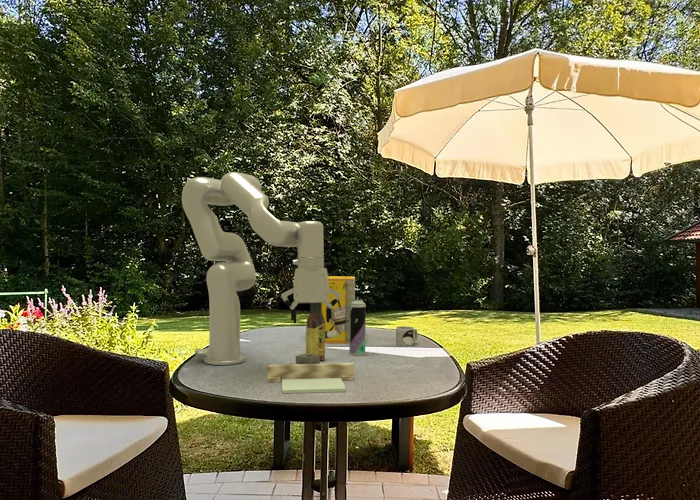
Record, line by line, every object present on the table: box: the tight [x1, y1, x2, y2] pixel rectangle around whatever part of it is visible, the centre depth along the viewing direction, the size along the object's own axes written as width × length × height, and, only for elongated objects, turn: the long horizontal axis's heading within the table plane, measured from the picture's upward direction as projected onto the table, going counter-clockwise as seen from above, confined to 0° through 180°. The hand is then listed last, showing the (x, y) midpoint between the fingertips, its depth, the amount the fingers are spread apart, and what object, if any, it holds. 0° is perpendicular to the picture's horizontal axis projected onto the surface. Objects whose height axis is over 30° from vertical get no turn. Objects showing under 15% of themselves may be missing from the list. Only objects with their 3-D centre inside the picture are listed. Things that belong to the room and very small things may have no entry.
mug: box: [395, 326, 419, 348], centre depth 204 cm, size 10×7×7 cm
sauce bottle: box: [305, 303, 326, 362], centre depth 174 cm, size 7×6×20 cm
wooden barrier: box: [266, 362, 355, 383], centre depth 148 cm, size 24×5×4 cm, turn 98°
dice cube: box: [295, 352, 321, 364], centre depth 156 cm, size 5×5×5 cm
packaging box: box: [322, 275, 356, 344], centre depth 213 cm, size 16×16×25 cm
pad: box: [281, 378, 347, 394], centre depth 140 cm, size 16×11×1 cm
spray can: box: [348, 295, 367, 357], centre depth 184 cm, size 6×6×20 cm
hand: (311, 322), depth 156 cm, fingers open, 9 cm apart
